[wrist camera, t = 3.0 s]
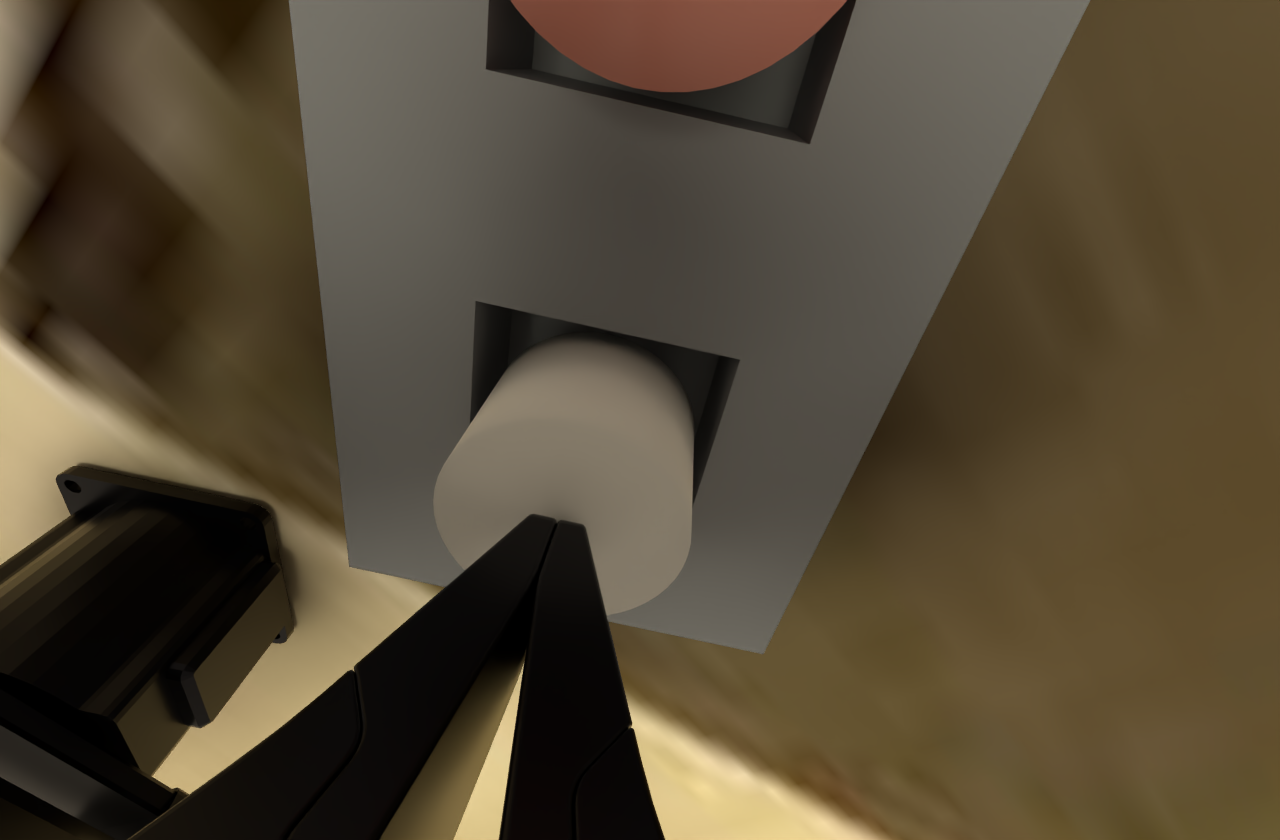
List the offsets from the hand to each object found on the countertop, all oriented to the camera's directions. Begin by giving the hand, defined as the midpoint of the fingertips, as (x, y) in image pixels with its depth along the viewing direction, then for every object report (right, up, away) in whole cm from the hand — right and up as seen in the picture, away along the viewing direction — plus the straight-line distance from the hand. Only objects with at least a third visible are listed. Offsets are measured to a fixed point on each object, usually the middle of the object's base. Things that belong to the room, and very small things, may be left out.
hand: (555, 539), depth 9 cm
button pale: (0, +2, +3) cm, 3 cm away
